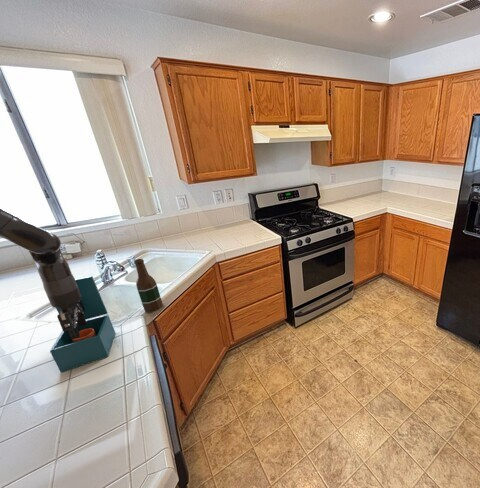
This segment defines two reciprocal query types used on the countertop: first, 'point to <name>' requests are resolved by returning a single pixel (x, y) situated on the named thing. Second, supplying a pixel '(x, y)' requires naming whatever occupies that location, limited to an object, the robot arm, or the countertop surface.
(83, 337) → the cup
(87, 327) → the box
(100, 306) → the lid
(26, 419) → the countertop surface
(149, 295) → the beer bottle
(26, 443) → the countertop surface
